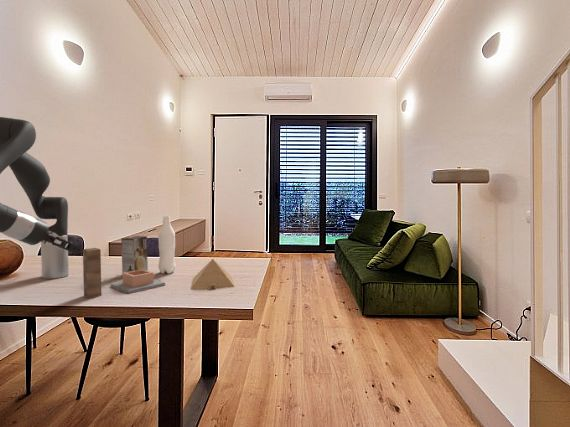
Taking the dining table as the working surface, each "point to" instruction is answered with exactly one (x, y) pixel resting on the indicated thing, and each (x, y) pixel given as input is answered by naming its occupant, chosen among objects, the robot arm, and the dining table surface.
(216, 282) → the model pyramid
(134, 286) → the end cap socket
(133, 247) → the coffee box
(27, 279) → the dining table surface
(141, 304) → the dining table surface
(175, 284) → the dining table surface
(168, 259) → the water bottle
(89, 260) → the walnut slat
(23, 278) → the dining table surface
